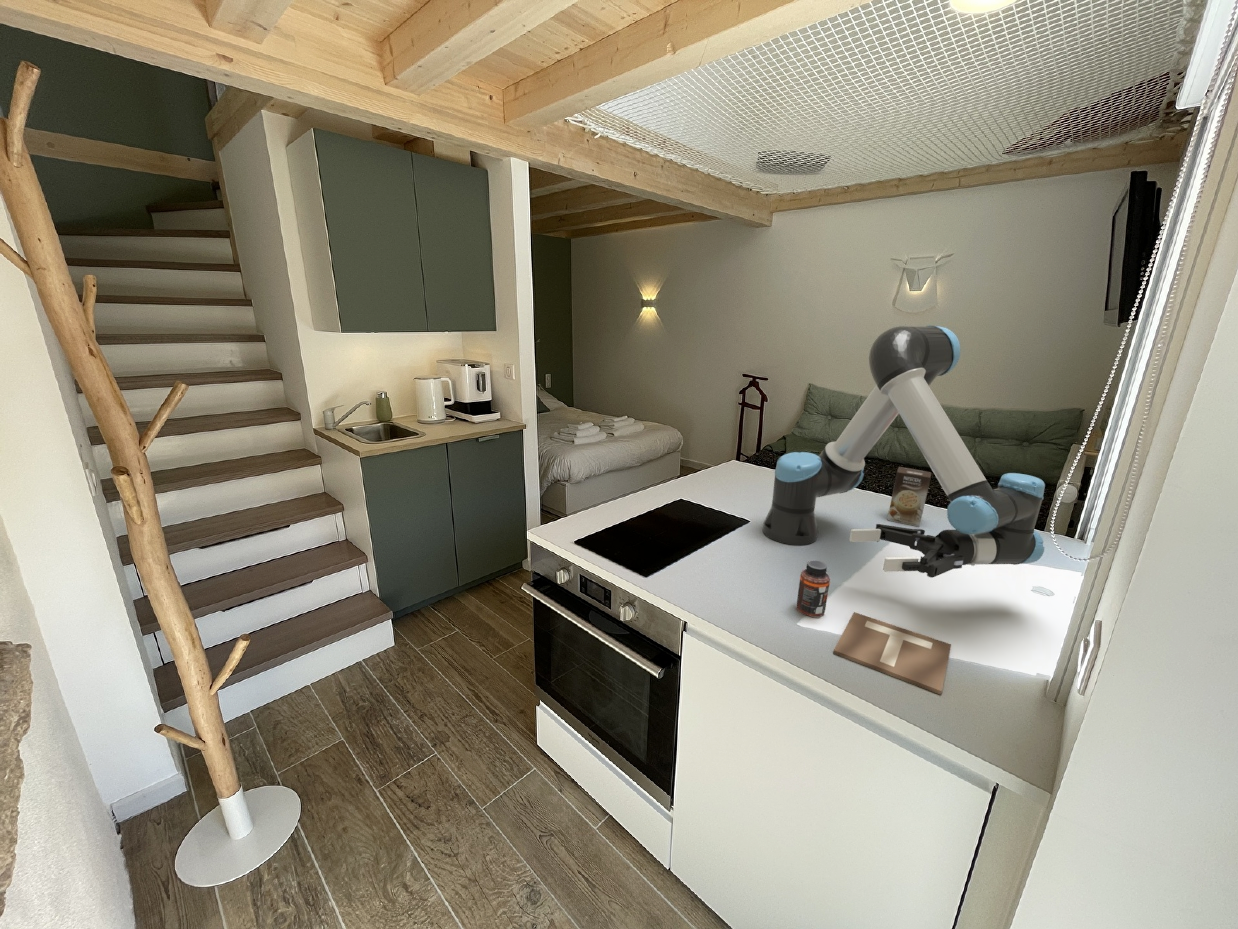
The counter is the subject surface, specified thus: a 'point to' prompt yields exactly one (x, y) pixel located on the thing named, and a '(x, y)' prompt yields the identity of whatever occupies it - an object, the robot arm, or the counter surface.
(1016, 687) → the counter surface
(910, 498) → the coffee box
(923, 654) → the letter board
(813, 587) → the supplement bottle
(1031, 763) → the counter surface
